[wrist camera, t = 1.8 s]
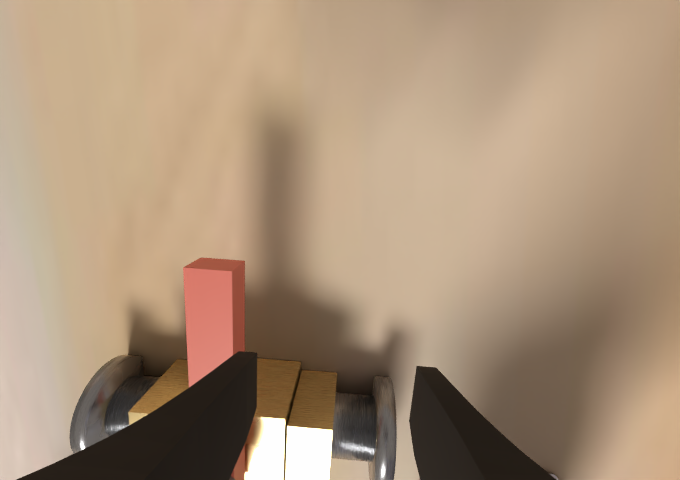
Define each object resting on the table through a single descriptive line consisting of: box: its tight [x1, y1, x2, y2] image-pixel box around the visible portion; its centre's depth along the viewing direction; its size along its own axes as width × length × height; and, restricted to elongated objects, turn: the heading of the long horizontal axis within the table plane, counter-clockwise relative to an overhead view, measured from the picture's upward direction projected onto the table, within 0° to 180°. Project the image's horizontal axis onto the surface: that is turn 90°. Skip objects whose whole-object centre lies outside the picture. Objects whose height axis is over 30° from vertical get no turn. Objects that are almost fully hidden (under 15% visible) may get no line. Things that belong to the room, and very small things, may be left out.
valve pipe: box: [70, 355, 396, 480], centre depth 20 cm, size 18×6×6 cm, turn 86°
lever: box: [183, 258, 245, 480], centre depth 14 cm, size 13×3×2 cm, turn 176°
